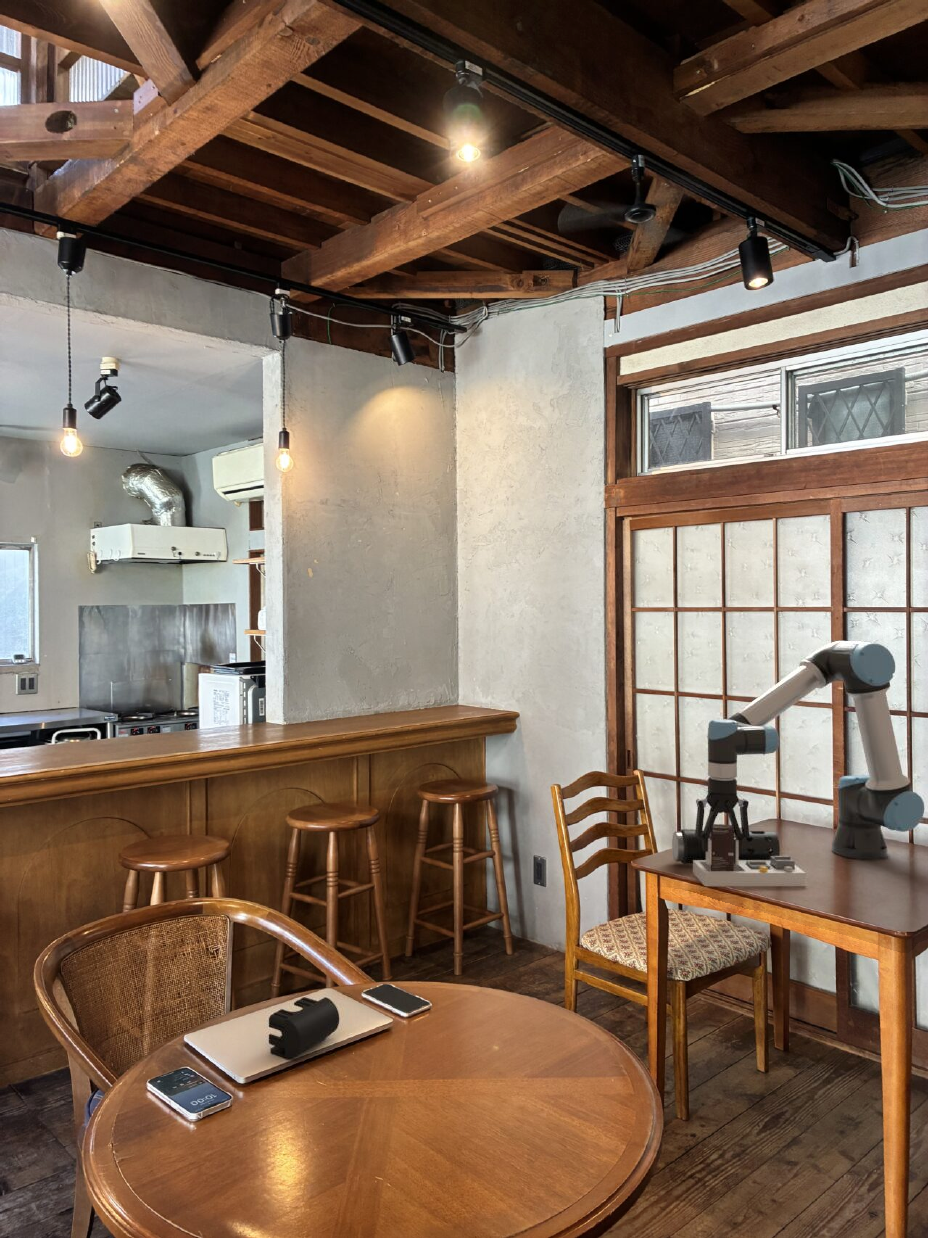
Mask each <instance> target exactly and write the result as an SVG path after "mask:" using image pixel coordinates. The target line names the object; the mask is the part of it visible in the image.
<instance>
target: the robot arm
mask: <svg viewBox="0 0 928 1238" xmlns="http://www.w3.org/2000/svg"><path fill="white" fill-rule="evenodd" d="M895 673H896V662H895V657H894V656H893V654H892V653H891V651H890V650H889V649H888V648H887V647H885V646H884V645H883V644H879V643H875V642H871V641H852V640H851V641H848V640H837V641H834V642H830V643H828V644H826V645H824V646H822V647H821V648H819V649H817V650H815V651H814V652H813V653H811V654H810V655H807V657H805V658H804V659H803V660H801V661H800V662H799V665H798V668H796V669H795V670H794V671H792V672H791V673H789V674H788V675H786V677H784V678H782V679H781V680H780V681H779V682H777V683H775V685H773V686H771V687H770V688H769V689H767V690H766V691H765V692H763V693H762V694H761V695H759V696H758V697H756V698H755V699H754V700H753V701H751V702H750V703H748V704H747V705H746V706H744V707H743V708H741V709H740V710H738V711H736V713H735V714H733V715H731V716H730V717H729V718H719V719H712V720H710V721H709V722H708V727H707V736H706V738H707V775H708V778H707V795H706V797H705V798H701V799H699V798H697V799H695V803H696V807H697V813H696V819H695V820H696V821H695V834H696V835H697V836H698V837H699V838H702V849H703V851H704V852H706V863H707V864H708V865H711V840H710V839H709V836H710V833H711V828H712V827H713V825H714V824H715V821H716V819H717V817H718V815H719V814H723V813H725V814H727V815H728V818H729V821H730V823H731V824H730V825H732V826H733V827H734V833H735V836H736V838H734V864H735V865H739V851H742V840H743V839H744V838H746V837H747V838H748V837H749V831H750V827H749V817H748V815H749V814H748V808H749V803H750V802H749V801H748V800H747V799H745V798H739V797H738V779H736V778H737V777H738V766H737V765H738V756H742V755H747V756H748V755H763V756H764V755H767V754H768V755H769V754H773V753H775V752H777V750H778V748H779V745H780V736H779V733H778V730H776V728H775V727H773V726H771V725H768V724H769V723H770V722H772V721H773V720H774V719H776V718H777V717H779V716H780V715H781V714H783V713H784V712H785V711H787V710H788V709H789V708H792V706H793V705H796V704H797V703H798V702H799V701H800V700H802V699H803V698H805V697H806V696H808V695H809V694H810V693H811V692H813V691H814V690H816V689H823V688H825V687H826V686H828V685H830V684H831V683H835V682H843V686H844V689H845V693H846V694H847V695H848V696H850V697H852V700H853V704H854V709H855V714H856V718H857V724H858V728H859V733H860V738H861V742H862V748H863V752H864V756H865V757H864V758H865V762H866V766H867V771H868V775H866V774H865V775H863V774H862V775H860V774H859V775H844V776H841V777H840V778H839V780H838V788H837V796H838V797H837V798H838V799H837V803H838V805H837V807H838V809H837V810H838V812H837V813H838V814H837V815H838V822H837V823H838V824H837V827H836V831H835V833H834V836H833V838H832V842H831V851H832V852H833V853H834V854H836V855H839V856H842V857H845V858H846V857H847V858H851V859H858V860H881V859H885V858H887V857H888V846H887V843H886V840H885V838H884V837H885V836H884V834H883V832H882V831H883V830H882V827H884V828H886V829H888V830H890V831H896V832H902V833H903V832H909V831H911V830H913V829H915V828H916V827H917V826H918V825H919V824H920V821H921V820H922V819H923V816H924V814H925V802H924V799H923V797H922V796H921V795H919V794H918V793H917V792H915V791H913V789H912V784H911V780H910V778H909V777H907V776H906V775H904V774H903V770H902V764H901V760H900V756H899V751H898V746H897V740H896V736H895V732H894V726H893V723H892V717H891V712H890V707H889V701H888V697H887V692H888V690H890V687H891V683H890V682H891V680H892V679H893V677H894V674H895ZM707 804H708V805H709V807H710V809H709V812H708V813H709V814H708V816H707V819H706V822H705V825H704V820H705V808H706V807H707ZM737 804H738V805H737ZM736 806H738V807H739V814H740V825H741V828H740V826H739V823H738V820H737V818H736V813H735V810H734V808H735V807H736ZM702 831H703V833H702ZM741 831H742V832H741Z"/></svg>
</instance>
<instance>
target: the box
mask: <svg viewBox="0 0 928 1238" xmlns="http://www.w3.org/2000/svg"><path fill="white" fill-rule="evenodd" d="M711 871H734V827H733V826H732V824H722V823H721V824H720V823H718V824H716V823H714V825H713V827H712V828H711Z"/></svg>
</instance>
